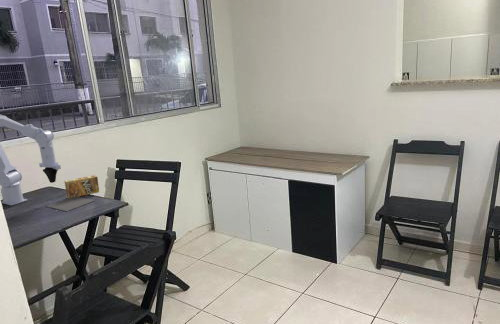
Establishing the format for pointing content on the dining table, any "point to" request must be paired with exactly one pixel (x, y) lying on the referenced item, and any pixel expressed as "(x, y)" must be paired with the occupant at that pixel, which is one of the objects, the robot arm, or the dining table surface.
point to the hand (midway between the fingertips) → (52, 182)
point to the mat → (70, 203)
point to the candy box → (81, 186)
